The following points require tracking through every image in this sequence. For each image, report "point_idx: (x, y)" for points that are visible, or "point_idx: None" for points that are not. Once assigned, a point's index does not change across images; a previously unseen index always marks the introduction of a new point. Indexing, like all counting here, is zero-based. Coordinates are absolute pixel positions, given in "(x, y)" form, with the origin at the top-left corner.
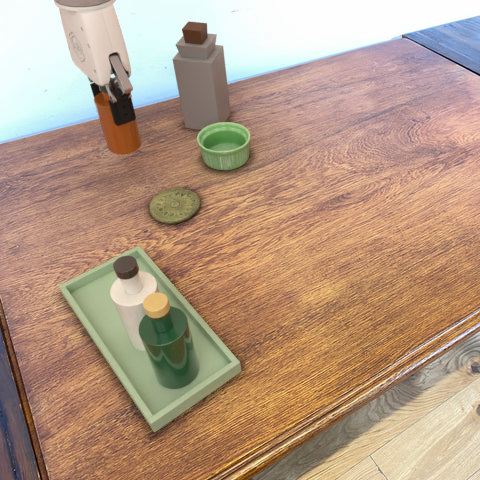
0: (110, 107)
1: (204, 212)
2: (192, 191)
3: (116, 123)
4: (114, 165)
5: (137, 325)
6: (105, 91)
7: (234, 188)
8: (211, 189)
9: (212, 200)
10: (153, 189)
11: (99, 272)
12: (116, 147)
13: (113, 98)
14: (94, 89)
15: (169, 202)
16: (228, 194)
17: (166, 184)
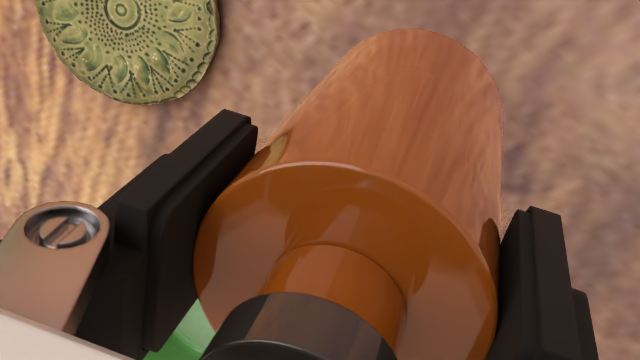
0: (170, 176)
1: (49, 48)
2: (142, 103)
3: (218, 118)
4: (545, 56)
5: None
6: (253, 307)
7: (85, 192)
8: (127, 151)
9: (81, 110)
10: (273, 35)
11: None
12: (358, 50)
13: (13, 233)
14: (522, 321)
15: (142, 4)
16: (74, 160)
17: (259, 87)
